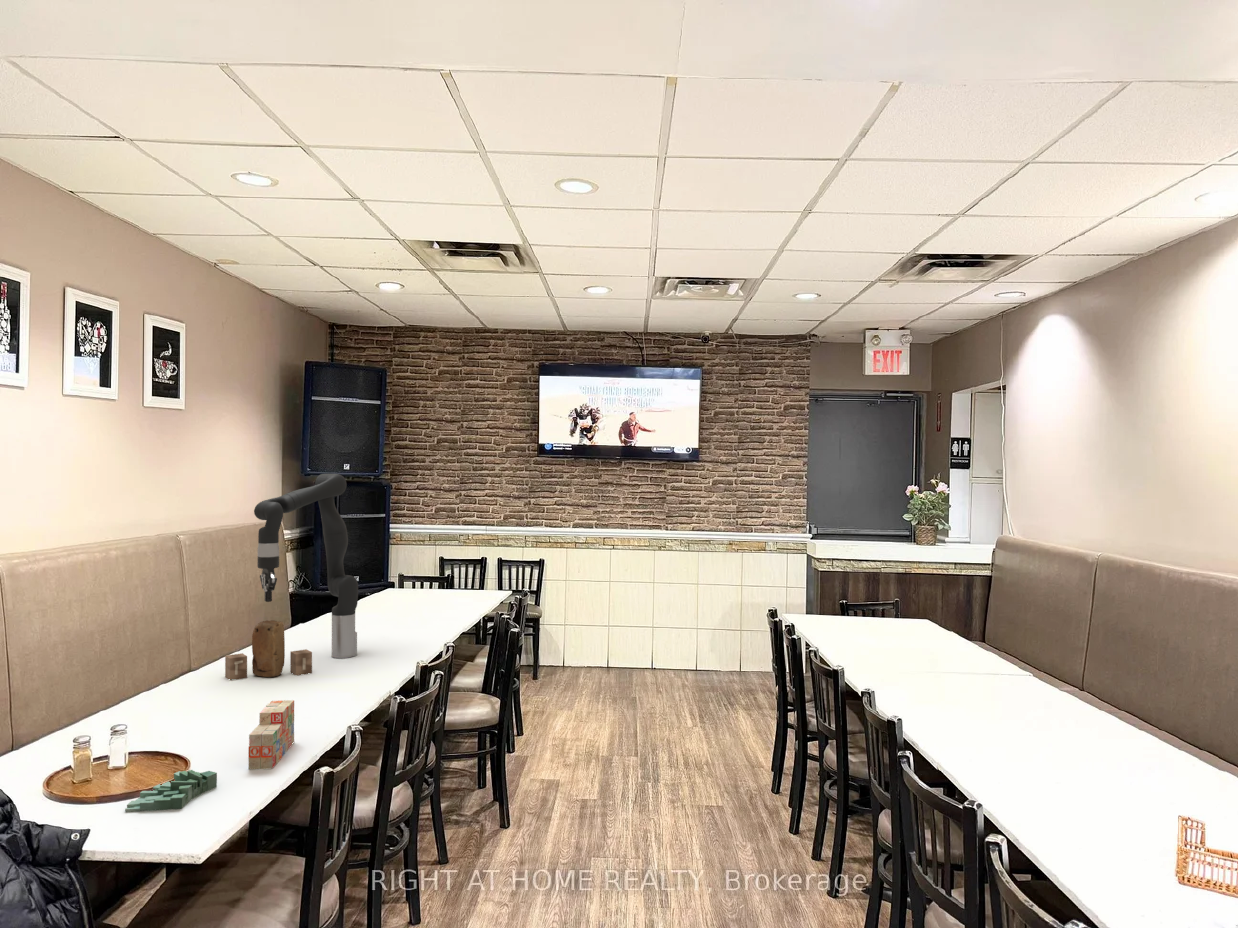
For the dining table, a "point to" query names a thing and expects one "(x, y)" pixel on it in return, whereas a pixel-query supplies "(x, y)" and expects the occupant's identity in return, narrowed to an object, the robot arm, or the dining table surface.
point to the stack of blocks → (272, 735)
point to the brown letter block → (236, 666)
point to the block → (268, 648)
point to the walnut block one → (301, 662)
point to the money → (174, 792)
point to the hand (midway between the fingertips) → (268, 601)
